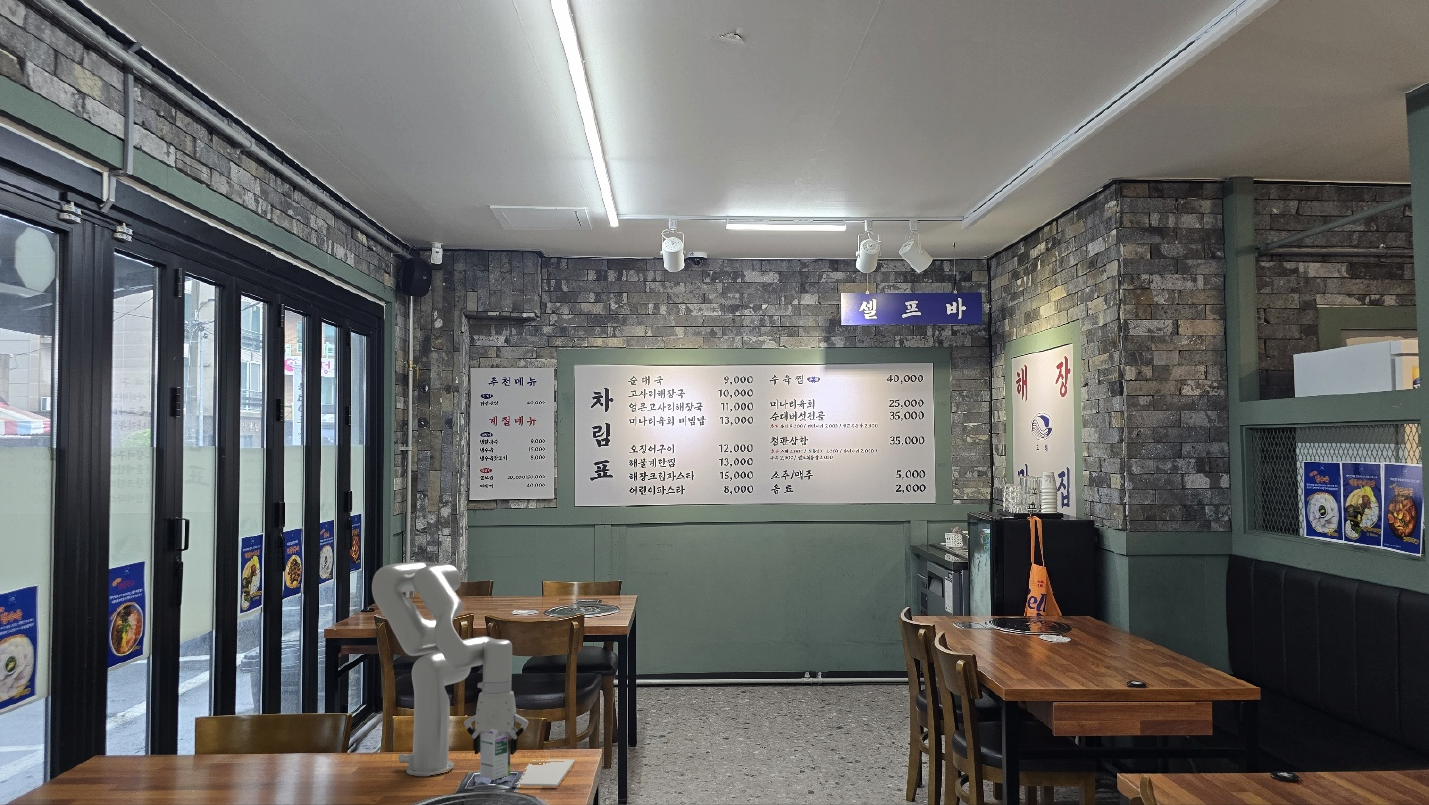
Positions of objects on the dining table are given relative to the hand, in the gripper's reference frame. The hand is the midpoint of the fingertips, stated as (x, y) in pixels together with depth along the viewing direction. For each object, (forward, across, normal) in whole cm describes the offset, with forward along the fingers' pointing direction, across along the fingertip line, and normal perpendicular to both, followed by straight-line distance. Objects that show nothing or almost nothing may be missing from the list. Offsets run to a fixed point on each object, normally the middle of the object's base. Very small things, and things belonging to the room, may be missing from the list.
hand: (495, 753), depth 236 cm
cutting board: (+7, +12, +6) cm, 15 cm away
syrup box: (+8, 0, 0) cm, 8 cm away
